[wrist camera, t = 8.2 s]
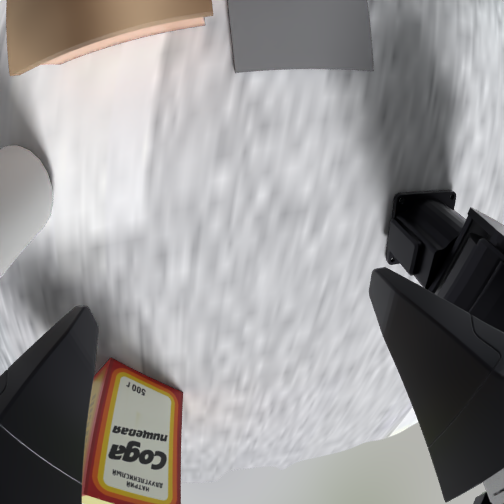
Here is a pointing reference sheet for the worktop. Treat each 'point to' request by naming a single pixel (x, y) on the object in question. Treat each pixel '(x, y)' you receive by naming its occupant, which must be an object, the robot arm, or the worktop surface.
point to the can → (21, 201)
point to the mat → (300, 34)
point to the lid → (83, 24)
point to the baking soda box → (132, 439)
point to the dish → (128, 38)
